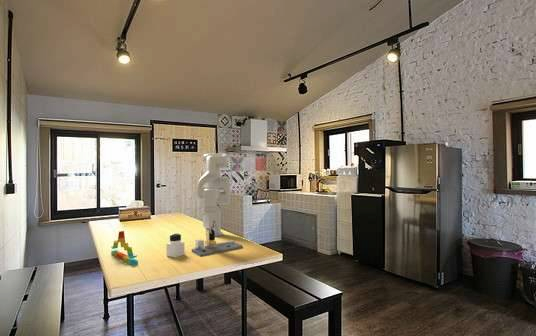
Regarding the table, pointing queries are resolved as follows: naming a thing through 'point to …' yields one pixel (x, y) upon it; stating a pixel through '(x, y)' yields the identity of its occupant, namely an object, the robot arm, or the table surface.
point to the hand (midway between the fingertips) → (210, 239)
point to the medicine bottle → (175, 246)
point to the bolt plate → (220, 247)
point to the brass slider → (209, 242)
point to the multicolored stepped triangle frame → (130, 256)
